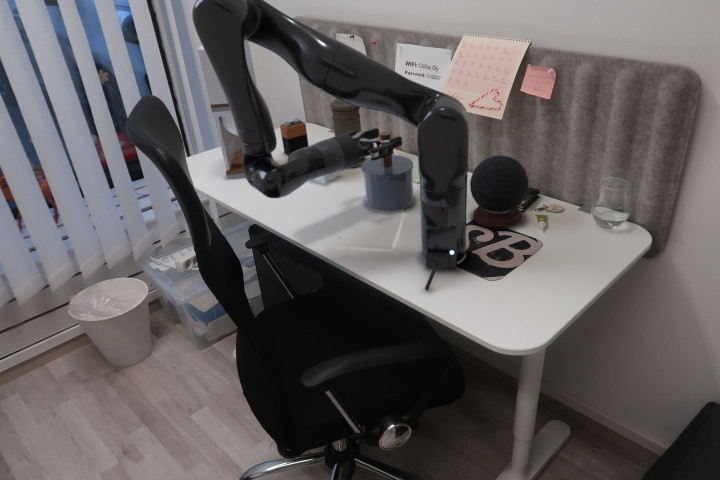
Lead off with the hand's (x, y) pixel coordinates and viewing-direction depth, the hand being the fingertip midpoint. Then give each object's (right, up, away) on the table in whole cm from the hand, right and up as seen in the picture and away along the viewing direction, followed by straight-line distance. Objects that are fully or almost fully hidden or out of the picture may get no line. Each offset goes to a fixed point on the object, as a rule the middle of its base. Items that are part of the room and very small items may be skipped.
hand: (389, 136), depth 132 cm
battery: (-30, +4, +41) cm, 51 cm away
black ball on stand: (+26, -19, 0) cm, 32 cm away
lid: (-1, -7, +4) cm, 8 cm away
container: (-12, 0, +32) cm, 34 cm away
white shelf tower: (-42, -3, +31) cm, 52 cm away
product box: (-19, -7, +23) cm, 30 cm away
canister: (0, -15, +9) cm, 17 cm away
